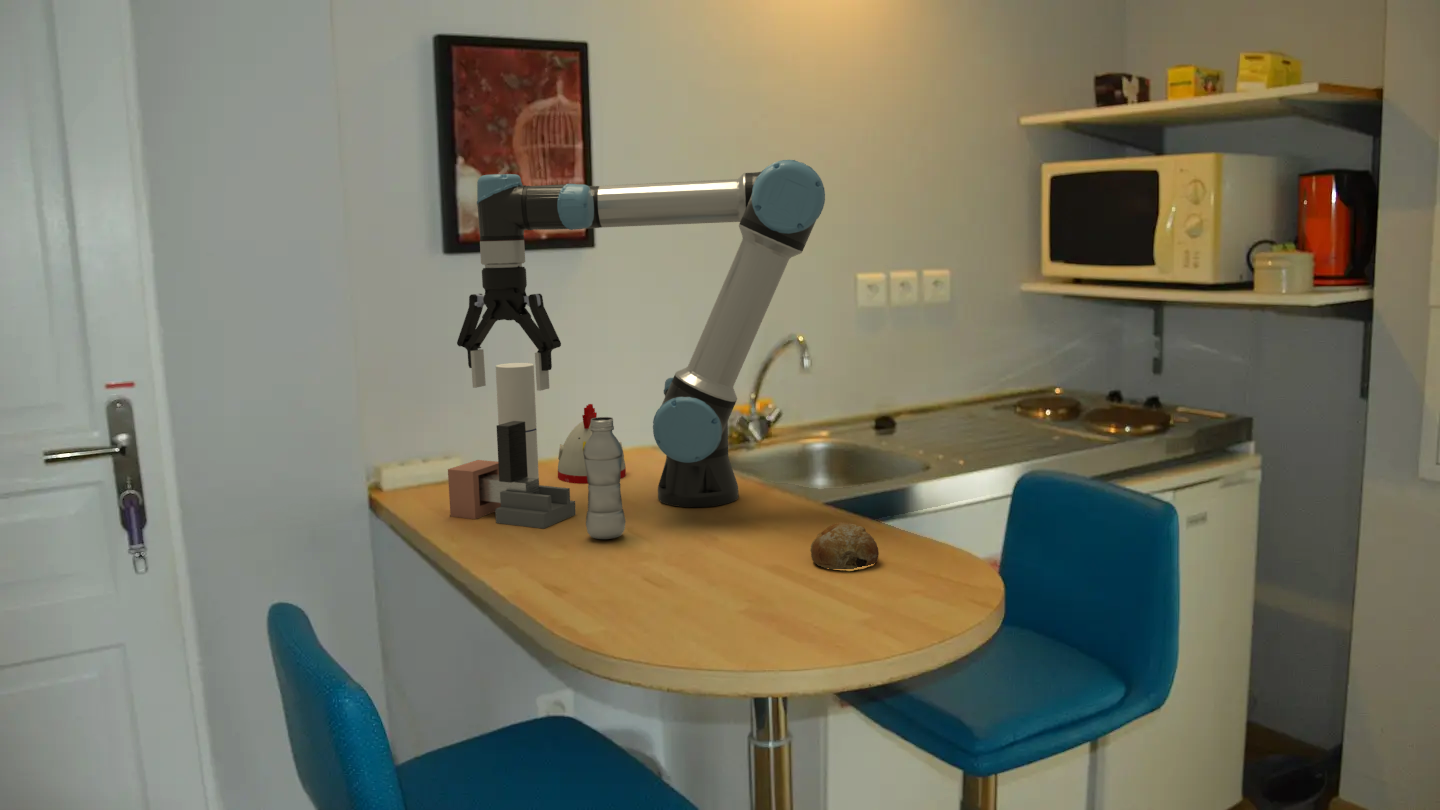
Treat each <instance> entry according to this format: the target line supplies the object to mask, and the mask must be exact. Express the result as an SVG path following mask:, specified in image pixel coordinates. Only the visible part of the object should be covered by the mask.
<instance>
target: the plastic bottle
mask: <svg viewBox="0 0 1440 810" xmlns="http://www.w3.org/2000/svg"><path fill="white" fill-rule="evenodd" d="M590 430H591V431H592V435H591V436H590V438H589V439H588V441H587V443H586V444H585V446H584V450H583V455H584V461H585V467H586V472H587V481H588V484H587V490H588V495H587V496H588V497H587V512H586V515H585V516H586V518H585V526H586V531H587V534H588V535H589V536H590V538H592V539H594V540H595V539H596V540H609V539H616V538H619V537H621V536H623V533H624V532H625V529H626V522H627V521H626V515H625V511H624V509H623V500H622V494H621V493H622V492H621V479H620V477H621V463H622V449H623V446H622V447H621V444H620V443H619V442H620V441H619V439H618V438H617V437H616V436H615V435H614V433H613V431H614V430H615V426H614V418H613V417H610V416H597V417H596V418H592V419H591V427H590Z"/></svg>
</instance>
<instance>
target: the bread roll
mask: <svg viewBox="0 0 1440 810" xmlns="http://www.w3.org/2000/svg"><path fill="white" fill-rule="evenodd" d="M809 551H810V557H811V560H812V561H813V563H814V564H815V565H816V564H817V565H818V566H821V567H820V568H822V567H824V568H823V569H825V568H829V569H854V568H857V567H862V566H868V565H871V564H874V563H876V562H878V560H879V554H880V553H879V548H878V545H877V542H876V541H875V538H874V537H873V536H872V535H871V534H870V533H868V531H866V529H865V527H863V526H858V525H857V524H854V523H850V522H843V521H841V522H836V523H833V524H831V525H829V526H827V527H826V528H825V529H823V530H822V531H820V532H819V533H818V534H817V537H816V538H814V539H813V541H812V543H811V545H810V549H809ZM876 564H877V563H876ZM817 565H816V566H817ZM818 566H817V567H818Z"/></svg>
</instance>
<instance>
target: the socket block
mask: <svg viewBox="0 0 1440 810" xmlns="http://www.w3.org/2000/svg"><path fill="white" fill-rule="evenodd" d="M484 473H487V474H497V475H499V466H498V461H496V460H495V461H494V460H485V459H484V460H482V459H476V460H473V461H470V462H467V463H464V464H460V465H456V466H454V467H451V468H448V469H447V476H448V477H447V479H448V497H449V513H450V514H449V516H450V517H455V518H463V519H472V520H477V519H479V518H482V517H484V516H487V515H490V514H492V513H495V509H497V508H499V507H501V503H498V502H489V501H480V497H479V478H478V475H481V474H484Z"/></svg>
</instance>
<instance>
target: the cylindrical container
mask: <svg viewBox="0 0 1440 810" xmlns="http://www.w3.org/2000/svg"><path fill="white" fill-rule="evenodd" d="M534 365H535V364H534V363H532V362H510V363H499V364H496V365H495V377H496V378H495V379H496V380H495V381H496V396H497V397H496V399H497V401H496V404H497V419H498V423H497V424H498V425H500V424H504V423H508V422H511V421H522V422H525V430H526V452H527V474H528V478H538V479H539V480H540V477H539V475H540V474H539V473H540V472H539V456H538V455H539V454H538V433H537V431H538V430H537V410H536V409H537V407H536V406H537V405H536V387H535V385H536V383H535V382H536V381H535V366H534Z"/></svg>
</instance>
